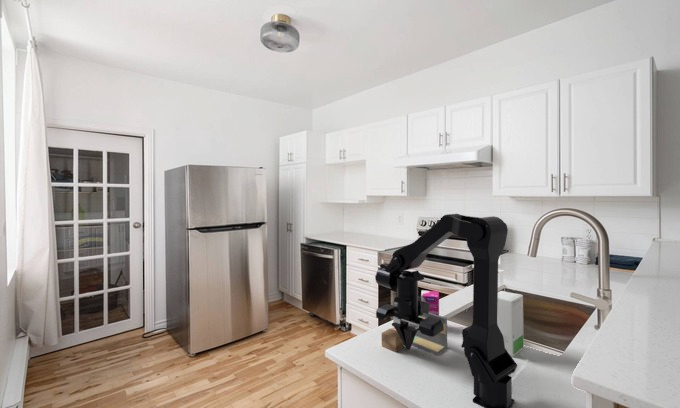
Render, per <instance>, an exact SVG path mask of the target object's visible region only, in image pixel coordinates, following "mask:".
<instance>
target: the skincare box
mask: <svg viewBox="0 0 680 408" xmlns="http://www.w3.org/2000/svg"><path fill="white" fill-rule="evenodd" d="M497 325H498V327H499V329H500V331H501V333H502V335H503V338H504V345H505V349H506V350H507V352H508V353H509V354H510V356H511V357H512V358H514V357H515V356H516V355H517V354H518V353H520V352H521V351H522V350H523V349H524V348H525V347H524V345H525V344H524V295H523V294H520V293H515V292H514V293H513V292H509V291H505V290H500V291H498V303H497Z"/></svg>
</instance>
